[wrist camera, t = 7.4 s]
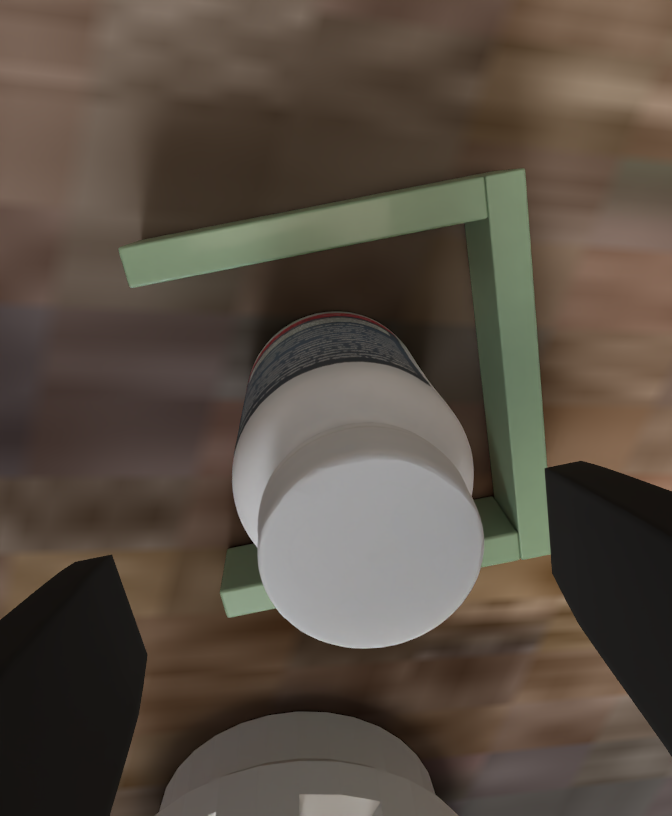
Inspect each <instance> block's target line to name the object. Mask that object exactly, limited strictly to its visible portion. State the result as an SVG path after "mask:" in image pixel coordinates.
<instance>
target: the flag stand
mask: <svg viewBox="0 0 672 816" xmlns="http://www.w3.org/2000/svg"><path fill="white" fill-rule="evenodd" d="M155 816H459V815H457V814H456V813H455V812H454V811H453V810H452V809H451V808H450V807H449V806H448V805H447V804H445V803H444V802H443V801H442V800H441V799H440V798H439V797H438V796H436V795H435V791H434V788H433V785H432V782H431V779H430V776H429V773H428V771H427V770H426V768H425V767H424V765H423V764H422V762H421V761H420V759H419V758H418V756H417V755H416V754H415V753H414V752H413V751H412V750H411V749H410V748H409V747H408V746H407V745H406V744H405V743H404V742H402V741H401V740H400V739H399V738H397V737H396V736H394V735H392V734H391V733H389V732H387V731H386V730H384V729H382V728H381V727H379V726H376V725H374V724H371V723H368V722H365V721H363V720H360V719H357V718H355V717H350V716H344V715H339V714H334V713H328V712H290V713H282V714H274V715H268V716H264V717H261V718H257V719H254V720H251V721H247V722H244V723H241V724H238V725H236V726H234V727H232V728H230V729H228V730H226V731H224V732H222V733H220V734H217V735H216V736H214V737H213V738H211V739H210V740H209V741H207V742H206V743H204V744H203V745H202V746H200V747H199V748H197V749H196V750H195V751H194V752H193V753H192V754H191V755H190V756H189V757H188V758H187V759H186V760H185V761H184V762H183V763H182V764H181V765H180V766H179V767H178V769H177V770H176V772H175V774H174V775H173V777H172V779H171V780H170V782H169V784H168V785H167V787H166V790H165V793H164V796H163V800H162V803H161V807H160V811H159V813H157V814H156V815H155Z"/></svg>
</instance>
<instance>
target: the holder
mask: <svg viewBox="0 0 672 816" xmlns="http://www.w3.org/2000/svg"><path fill="white" fill-rule="evenodd" d="M462 223H465V232H466V241H467V250H468V259H469V269H470V278H471V287H472V296H473V306H474V315H475V324H476V334H477V343H478V352H479V361H480V371H481V380H482V389H483V398H484V408H485V417H486V426H487V435H488V445H489V454H490V463H491V472H492V482H493V491H494V497H492V496H491V497H485V498H480V499H475V500H474V503H475V505H476V507H477V509H478V512H479V515H480V518H481V522H482V526H483V532H484V553H483V560H482V564H481V567H486V566H491V565H496V564H501V563H506V562H511V561H516V560H519V559H520V558H521V559H522V560H524V559H529V558H534V557H539V556H544V555H549V554H551V550H550V537H549V523H548V510H547V496H546V483H545V470H544V468H547V459H546V446H545V432H544V419H543V405H542V392H541V378H540V365H539V351H538V338H537V324H536V311H535V297H534V284H533V270H532V256H531V243H530V229H529V216H528V202H527V189H526V175H525V169H524V168H521V169H511V170H500V171H492V172H487V173H482V174H476V175H471V176H466V177H461V178H456V179H451V180H446V181H441V182H436V183H430V184H425V185H420V186H415V187H410V188H405V189H400V190H395V191H390V192H384V193H379V194H374V195H369V196H364V197H359V198H354V199H349V200H343V201H338V202H333V203H328V204H323V205H318V206H313V207H308V208H302V209H297V210H292V211H287V212H282V213H277V214H272V215H267V216H262V217H256V218H251V219H246V220H241V221H236V222H231V223H226V224H221V225H215V226H210V227H205V228H200V229H195V230H190V231H185V232H180V233H174V234H169V235H164V236H159V237H154V238H149V239H144V240H140V241H137V242H134V243H131V244H128V245H125V246H122V247H120V248H119V254H120V257H121V260H122V264H123V267H124V270H125V274H126V277H127V281H128V284H129V286H130V287H131V288H135V287H140V286H145V285H150V284H155V283H161V282H166V281H171V280H176V279H181V278H186V277H191V276H196V275H201V274H207V273H212V272H217V271H222V270H227V269H232V268H237V267H242V266H247V265H252V264H258V263H263V262H268V261H273V260H278V259H283V258H288V257H293V256H298V255H304V254H309V253H314V252H319V251H324V250H329V249H334V248H339V247H344V246H350V245H355V244H360V243H365V242H370V241H375V240H380V239H385V238H390V237H395V236H401V235H406V234H411V233H416V232H421V231H426V230H431V229H436V228H441V227H447V226H452V225H457V224H462ZM257 553H258V548H257V547H256V545H255V544H249V545H244V546H239V547H234V548H229V549H228V550H227V554H226V560H225V566H224V571H223V577H222V583H221V589H220V595H221V598H222V602H223V605H224V609H225V612H226V615H227V617H229V618H230V617H235V616H240V615H245V614H250V613H255V612H260V611H266V610H271V609H276V607H275V606H274V604H273V603H272V602H271V600H270V598H269V596H268V594H267V593H266V591H265V588H264V586H263V583H262V580H261V577H260V573H259V567H258V557H257Z"/></svg>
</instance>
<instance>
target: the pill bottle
mask: <svg viewBox="0 0 672 816" xmlns="http://www.w3.org/2000/svg"><path fill="white" fill-rule="evenodd" d="M473 481H474V466H473V457H472V452H471V448H470V445H469V442H468V439H467V436H466V434H465V432H464V429H463V427H462V425H461V424H460V422H459V420H458V419H457V417H456V415H455V414H454V413H453V411H452V410H451V409H450V407H449V406H448V405H447V403H446V402H445V401H444V399H443V398H442V397H441V396H440V394H439V393H438V392H437V391H436V390H435V388H434V387H433V386H432V385H431V383H430V382H429V381H428V379H427V378H426V376H425V375H424V373H423V372H422V371H421V369H420V368H419V366H418V365H417V363H416V361H415V360H414V358H413V357H412V355H411V354H410V352H409V351H408V349H407V348H406V346H405V345H404V344H403V343H402V341H401V340H400V339H399V338H398V337H397V336H396V335H395V334H394V333H393V332H392V331H390V330H389V329H388V328H386V327H385V326H384V325H382V324H381V323H379V322H377V321H375V320H373V319H371V318H368V317H366V316H363V315H359V314H355V313H351V312H342V311H332V312H322V313H316V314H313V315H309V316H306V317H303V318H301V319H299V320H296V321H294V322H292V323H291V324H289V325H287V326H286V327H284V328H283V329H282V330H280V331H279V332H278V333H276V334H275V335H274V336H273V337H272V338H271V339H270V340H269V342H268V343H267V344H266V345H265V346H264V348H263V349H262V350H261V352H260V354H259V355H258V357H257V359H256V361H255V363H254V365H253V368H252V370H251V374H250V377H249V381H248V385H247V390H246V396H245V401H244V406H243V411H242V416H241V421H240V426H239V431H238V437H237V441H236V446H235V451H234V457H233V467H232V486H233V495H234V501H235V505H236V509H237V512H238V516H239V518H240V520H241V523H242V525H243V527H244V528H245V530H246V532H247V534H248V536H249V537H250V539H251V540H252V541H253V543H254V544H255V545H256V547H257V548H258V553H257V557H258V567H259V573H260V577H261V580H262V583H263V586H264V588H265V591H266V593H267V594H268V596H269V598H270V600H271V602H272V603H273V604H274V606H275V607H276V609H277V610H278V612H279V613H280V614H281V615H282V616H283V617H284V618H285V619H287V620H288V621H289V622H290V623H291V624H292V625H293V626H295V627H296V628H297V629H299V630H300V631H302V632H304V633H305V634H307V635H309V636H311V637H313V638H315V639H317V640H320V641H323V642H326V643H329V644H333V645H337V646H342V647H347V648H363V649H365V648H381V647H387V646H392V645H397V644H400V643H404V642H406V641H409V640H412V639H414V638H417V637H419V636H421V635H423V634H425V633H427V632H428V631H430V630H432V629H434V628H435V627H437V626H438V625H440V624H441V623H442V622H443V621H445V620H446V619H447V618H448V617H449V616H451V615H452V614H453V613H454V612H455V611H456V610H457V608H458V607H459V606H460V605H461V604H462V603H463V601H464V600H465V598H466V597H467V596H468V594H469V593H470V591H471V589H472V588H473V586H474V584H475V581H476V579H477V577H478V574H479V572H480V569H481V564H482V560H483V553H484V532H483V526H482V522H481V518H480V515H479V512H478V509H477V507H476V505H475V503H474V500H473V498H472V491H473Z"/></svg>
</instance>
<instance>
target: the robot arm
mask: <svg viewBox="0 0 672 816" xmlns="http://www.w3.org/2000/svg"><path fill="white" fill-rule="evenodd" d="M544 470H545V483H546V496H547V510H548V523H549V537H550V550H551V564H552V574H553V576H554V578H555V580H556V582H557V584H558V586H559V588H560V590H561V591H562V593H563V595H564V597H565V599H566V601H567V603H568V605H569V607H570V609H571V611H572V612H573V614H574V616H575V618H576V620H577V622H578V624H579V625H580V627H581V628H582V630H583V631H584V633H585V634H586V635H587V637H588V638H589V640H590V641H591V643H592V644H593V646H594V647H595V648H596V650H597V651H598V653H599V654H600V656H601V657H602V658H603V660H604V661H605V663H606V664H607V666H608V667H609V668H610V670H611V671H612V673H613V674H614V675H615V677H616V678H617V680H618V681H619V682H620V684H621V685H622V687H623V688H624V689H625V691H626V692H627V694H628V695H629V696H630V698H631V699H632V701H633V702H634V703H635V705H636V706H637V708H638V709H639V710H640V712H641V713H642V715H643V716H644V717H645V719H646V720H647V722H648V723H649V725H650V726H651V727H652V729H653V730H654V732H655V733H656V734H657V736H658V737H659V739H660V740H661V741H662V743H663V744H664V746H665V747H666V749H667V750H668V752H669V753H670V755H671V756H672V491H669V490H666V489H663V488H661V487H658V486H655V485H652V484H650V483H647V482H644V481H641V480H639V479H636V478H633V477H630V476H627V475H625V474H622V473H619V472H616V471H613V470H610V469H607V468H604V467H601V466H598V465H595V464H591V463H587V462H583V461H578V462H573V463H568V464H563V465H558V466H553V467H548V468H544ZM146 662H147V652H146V649H145V647H144V644H143V641H142V638H141V635H140V633H139V630H138V627H137V624H136V621H135V618H134V616H133V613H132V610H131V607H130V604H129V602H128V599H127V596H126V593H125V590H124V588H123V585H122V582H121V579H120V576H119V574H118V571H117V568H116V565H115V562H114V559H113V557H112V555H108V556H103V557H98V558H93V559H88V560H83V561H78V562H74V563H73V564H71V565H70V566H68V567H67V568H65V569H64V570H62V571H61V572H59V573H58V574H57V575H55V576H54V577H53V578H51V579H50V580H49V581H48V582H46V583H45V584H44V585H43V586H41V587H40V588H39V589H38V590H36V591H35V592H34V593H33V594H31V595H30V596H29V597H28V598H27V599H25V600H24V601H23V602H22V603H20V604H19V605H18V606H17V607H16V608H14V609H13V610H12V611H11V612H10V613H8V614H7V615H6V616H5V617H3V618H2V619H1V620H0V816H110V812H111V809H112V806H113V802H114V799H115V795H116V792H117V789H118V785H119V782H120V778H121V775H122V772H123V768H124V765H125V761H126V758H127V754H128V751H129V747H130V744H131V740H132V737H133V733H134V730H135V726H136V722H137V718H138V715H139V709H140V703H141V697H142V691H143V684H144V677H145V669H146Z"/></svg>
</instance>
